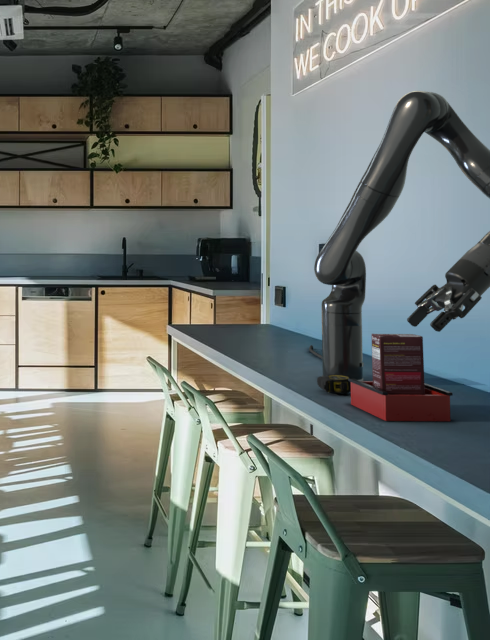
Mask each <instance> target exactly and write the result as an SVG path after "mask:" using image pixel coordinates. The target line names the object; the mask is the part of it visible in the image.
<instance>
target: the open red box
mask: <svg viewBox="0 0 490 640" xmlns="http://www.w3.org/2000/svg"><path fill="white" fill-rule="evenodd" d="M348 381H350V382H351V391H350V405H351V406H353V407H355V408H357V409H359V410H361V411H364V412H366V413H368V414H370V415H372V416H373V417H374V416H375V418H376V417H377V418H379V419H380V420H383V421H385V422H451V397H452V396H453V394H454V393H453V391H452V392H451V391H449V390H446V389H443V388H440V387H437V386H434V385H433V384H432V385H431V384H428V383H425V382H424V385H425V395H388V392H386V391H383V390H381V389H378V388H376V387H373V380H363V381H358V380H356V379H353V378H348Z"/></svg>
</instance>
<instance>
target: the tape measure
mask: <svg viewBox="0 0 490 640" xmlns="http://www.w3.org/2000/svg"><path fill="white" fill-rule="evenodd" d="M348 378H349V377H346V376H341V375H327V376H322V375H321V376H318V377H317V379H316V384H317V386H318V387H319V388H320V389H321V390H323V391H324V392H326V393H328V394H330V393H333V394H343V395H344V394H347V393H351V382H350V381H348Z"/></svg>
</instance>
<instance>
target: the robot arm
mask: <svg viewBox="0 0 490 640" xmlns="http://www.w3.org/2000/svg"><path fill="white" fill-rule="evenodd" d="M424 133H425V134H426V135H428V136H429V137H431V138H432V139H434V140H435V141H437V142H438V143H439V144H441V146H443V148H444V149H446V150H447V151H448V153H449V154H450V156H452V157H451V158H452V159H453V160H454V161H455V163H456V165H457V166H458V168H459V169H460V171H461V172H462V173H463V174H464V176H465V177H466V178H467V179H468V181H470V182H471V183H472V184H473V185H474V186H475V187H476V188H477V189H478V191H480V192H481V193H482V194H483V195H484V196H486V197H487V198H488V199H489V200H490V149H489V148H488V147H487V146H486V145H485V144H484V143H483V142H482V141H481V140H480V139H479V138H478V137H477V136H476V135H475V134H474V133H473V132H472V131H471V130H470V128H469V127H468V126H467V125H466V124H465V123H464V122H463V120H462V119H461V118H460V116H459V115H458V114H457V112H456V111H455V109H454V108H453V107H452V105H451V104H450V103H449V101H447V99H446V98H445V97H444V96H443V95H441V94H439V93H436V92H432V91H426V90H413V91H410V92H408V93H406V94H404V95H403V96H402V97H401V98H399V99H398V101H397V103H396V104H395V106H394V108H393V111H392V113H391V115H390V119H389V121H388V123H387V126H386V129H385V131H384V134H383V136H382V139H381V141H380V143H379V145H378V147H377V149H376V151H375V152H374V153H373V156H372V158H371V160H370V162H369V164H368V166H367V168H366V170H365V172H364V173H363V175H362V177H361V178H360V181H359V182H358V184H357V185H356V188H355V190H354V192H353V194H352V196H351V198H350V201H349V202H348V204H347V206H346V208H345V210H344V212H343V213H342V216H341V217H340V219H339V221H338V223H337V225H336V227H335V228H334V230H333V231H332V233H331V235H330V236H329V237H328V239H327V240H326V242H325V243H324V245H323V246H322V248H321V249H320V251H319V253H318V254H317V256H316V258H315V261H314V267H313V268H314V269H313V270H314V275H315V278H316V279H317V280H318V281H319V282H320V283H321V284H323V285H328V286H331V291H330V293H329V295H328V296H327V297H325V298H324V299H322V301H321V354H320V353H318V352H316V351H315V350H314V346H313V344H311V345H309V348H308V351H309V352H310V353H311V354H312V355H314V356H315V357H317V358H319V359H321V361H322V362H321V363H322V364H321V365H322V368H321V369H322V375H321V376H327V375H341V376H346V377H349V378H353V379H356V380H358V381H364V374H363V373H364V370H363V369H364V368H363V367H364V365H365V362H363V361H364V358H363V313H362V312H363V305H364V303H365V301H366V291H367V290H366V288H367V287H366V285H367V269H366V267H367V266H366V261H365V259H364V257H363V255H362V254H361V253H360V252H359V251H358V250H357V249H358V248H359V246H360V245H361V243H362V242H363V241H364V239H365V238H366V237H367V236H368V235H369V234H370V233H372V231H373V230H375V229H376V228H377V227H378V226H379V225H380V224H382V223H383V221H385V219H386V218H387V217H388V216H389V215H390V213H392V211H393V209H394V208H395V206H396V203H397V202H398V200H399V198H400V196H401V194H402V192H403V190H404V188H405V185H406V179H407V172H408V167H409V166H408V165H409V161H410V157H411V155H412V153H413V151H414V149H415V147H416V145H417V144H418V143H419V140H420V139H421V137H423V134H424ZM444 278H445V279H446V283H445V284H444V285H442V286H441V287H439V286H438V285H437V284H432V286H430V288H428V289H427V291H425V292H424V293H423V294H422V295H421V296H420V297H419V298H418V299H417V300H416V301H415V302H414V305H415V306H416V307H417V308H415V310H414V311H413V312H412V313H411V314H410V315H409V316H408V317H407V318H406V321H407V323H409V324H410V326H412V327H414V328H416V327H418V326H419V324H421V323H422V321H423V320H425V318H427V317H428V315H429V314H431V313H433V312H435V311H436V312H439V314H438V315H436V317H434V318H433V320H432V321H431V322H430V323H429V325H430V327H431V328H432V329H433V330H434V332H439V333H440V332H441V331H442V330H443V329H444V328H445V327H447V325H448V324H449V323H450V322H451V321H454V320H457V318H460V319H463V318H465V317H466V316H467V315H468V314H469V313H470V312H471V310H473V308H474V307H475V306H476V305H477V304H478V303H479V302H480V301H481V300H482V296H483V294H484V293H485V292H487V290H489V288H490V230H489V231H488V232H487V233H486V234H484V236H482V237H481V239H479V241H477V243H476V244H474V245H473V246H472V247H471V248H469V249H468V250H467V251H466V252H465V253H464V254H463V255H462V256H461V257H460V258H459V259H458V260H457V261H456V262H455V263H454V264H453V265H452V266H451V267H450V268H449V269H448V270H447V271H446V272H445V274H444ZM463 308H464V309H463ZM440 311H441V312H440ZM310 434H311V435H313V436H314V425H313V424H312V423H309V435H310Z"/></svg>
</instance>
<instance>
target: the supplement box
mask: <svg viewBox="0 0 490 640" xmlns="http://www.w3.org/2000/svg"><path fill="white" fill-rule="evenodd" d="M424 363H425V362H424V337H423V335H418V334H415V333H414V334H413V333H371V367H372V368H371V370H372V381H373V387H376V388H378V389H381V390H383V391H386V392H388V395H425V385H424V383H425V364H424Z"/></svg>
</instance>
